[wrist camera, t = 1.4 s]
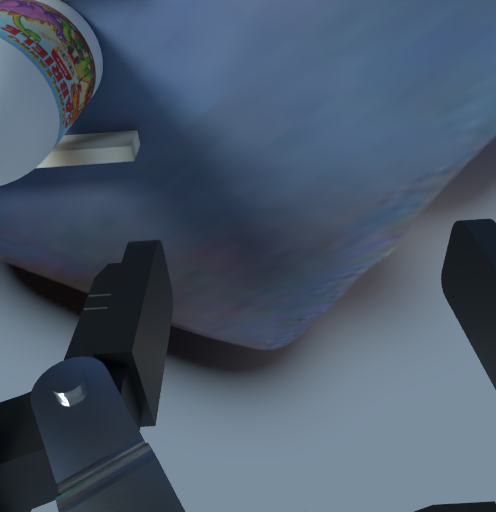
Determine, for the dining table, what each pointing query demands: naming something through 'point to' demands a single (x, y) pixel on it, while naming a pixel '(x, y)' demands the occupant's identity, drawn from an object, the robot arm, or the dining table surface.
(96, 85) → the milk bottle
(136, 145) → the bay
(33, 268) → the dining table surface
